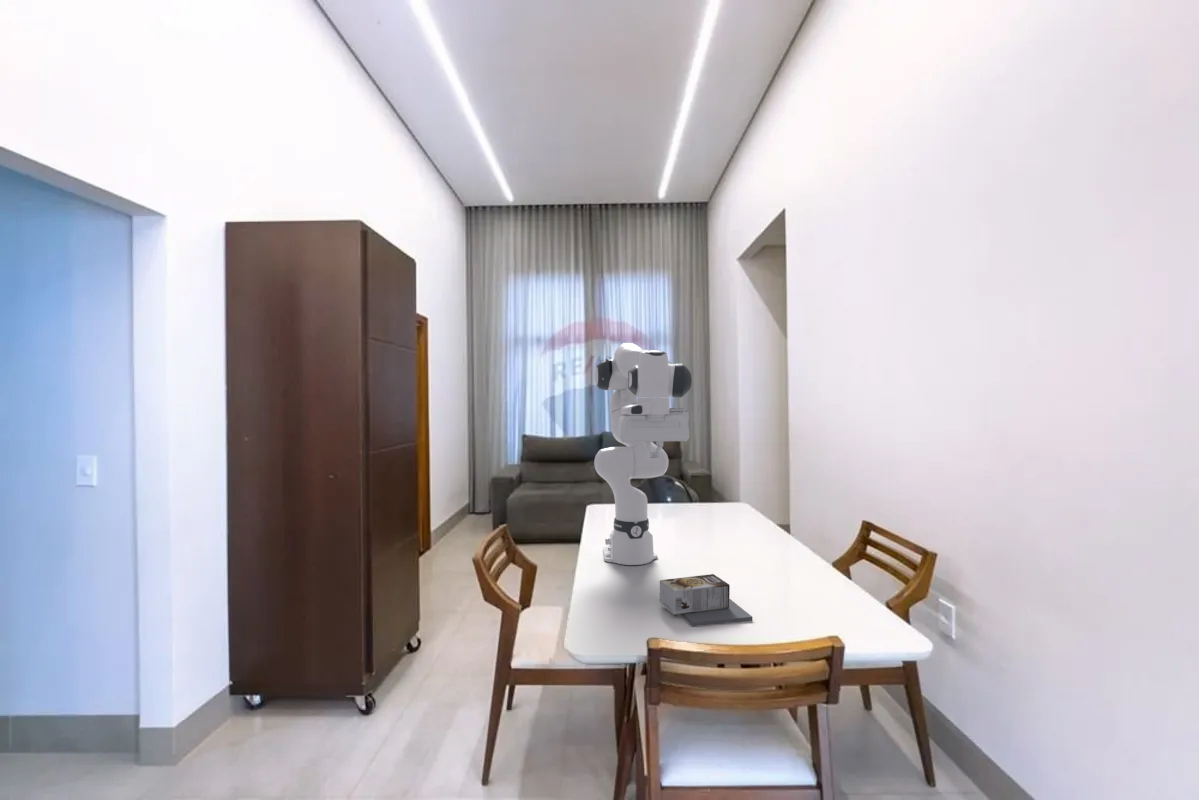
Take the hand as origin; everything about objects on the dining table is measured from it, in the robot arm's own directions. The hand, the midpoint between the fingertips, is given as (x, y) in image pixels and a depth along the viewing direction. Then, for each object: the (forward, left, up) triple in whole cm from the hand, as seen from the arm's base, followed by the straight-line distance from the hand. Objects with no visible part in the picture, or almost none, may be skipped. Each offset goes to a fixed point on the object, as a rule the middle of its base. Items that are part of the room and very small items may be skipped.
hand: (653, 457), depth 151 cm
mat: (+11, +12, -39) cm, 42 cm away
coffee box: (+11, 0, -35) cm, 37 cm away
